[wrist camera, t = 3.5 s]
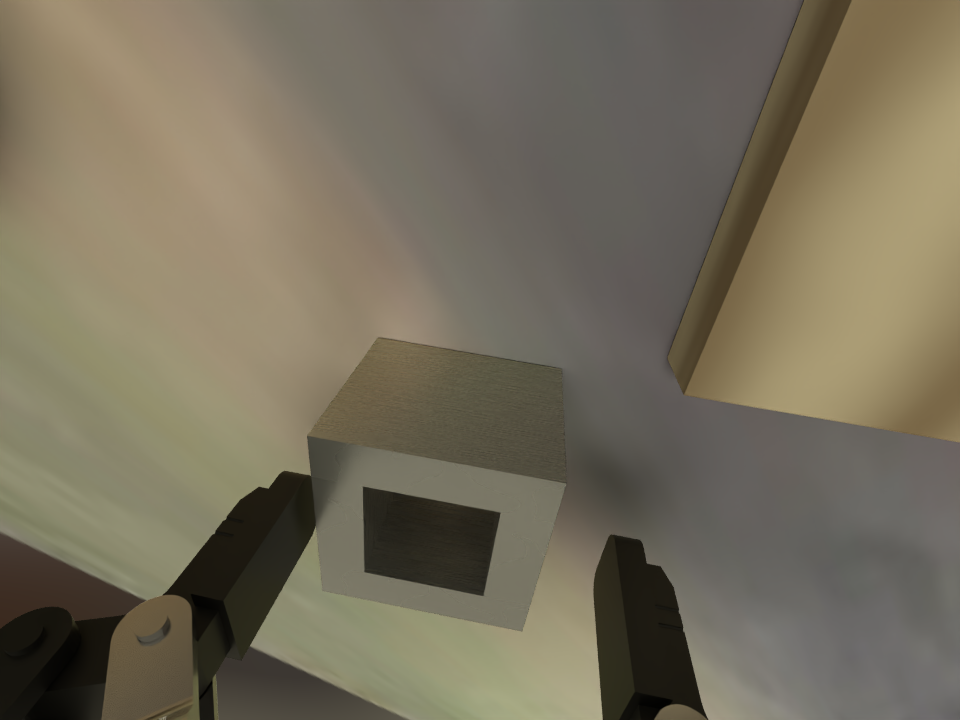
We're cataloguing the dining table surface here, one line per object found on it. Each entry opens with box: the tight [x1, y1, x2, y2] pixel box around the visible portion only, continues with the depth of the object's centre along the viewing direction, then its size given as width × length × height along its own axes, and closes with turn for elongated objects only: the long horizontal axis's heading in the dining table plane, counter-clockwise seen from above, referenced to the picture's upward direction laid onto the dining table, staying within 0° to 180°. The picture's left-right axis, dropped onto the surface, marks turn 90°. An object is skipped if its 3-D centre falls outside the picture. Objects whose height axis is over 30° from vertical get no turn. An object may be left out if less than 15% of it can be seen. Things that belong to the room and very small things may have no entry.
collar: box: [307, 338, 567, 631], centre depth 14 cm, size 6×6×5 cm
